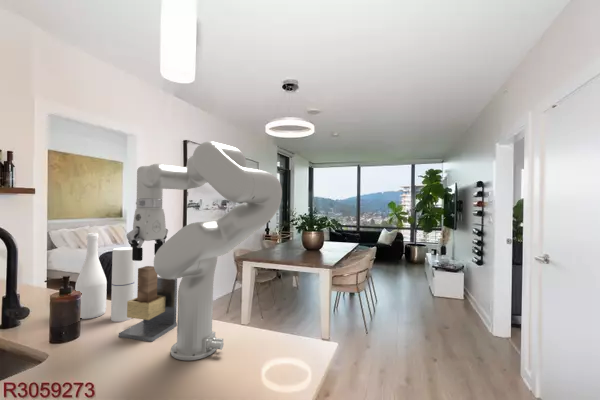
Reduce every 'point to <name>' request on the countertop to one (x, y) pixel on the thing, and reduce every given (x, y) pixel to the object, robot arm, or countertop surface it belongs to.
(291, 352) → the countertop surface
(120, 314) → the cylindrical container
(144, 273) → the rail post
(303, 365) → the countertop surface
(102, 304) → the wine bottle
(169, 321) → the cup bracket
